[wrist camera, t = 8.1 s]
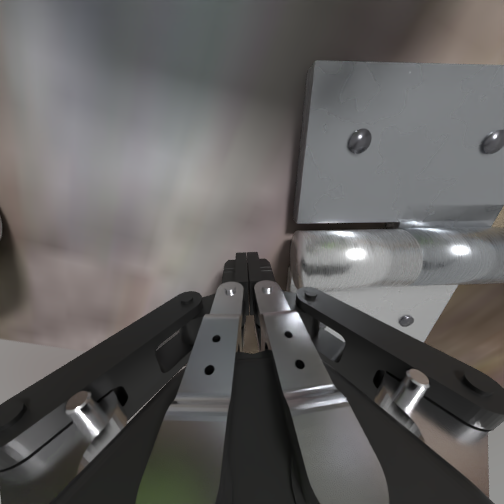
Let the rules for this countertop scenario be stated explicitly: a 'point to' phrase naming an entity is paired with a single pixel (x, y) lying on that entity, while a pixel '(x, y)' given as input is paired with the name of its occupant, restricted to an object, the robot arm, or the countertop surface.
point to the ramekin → (0, 228)
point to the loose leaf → (369, 275)
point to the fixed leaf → (409, 159)
